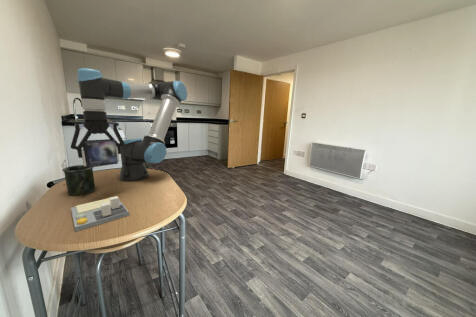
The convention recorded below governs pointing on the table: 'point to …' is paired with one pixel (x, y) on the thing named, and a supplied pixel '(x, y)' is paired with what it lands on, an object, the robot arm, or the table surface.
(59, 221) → the table surface
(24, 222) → the table surface
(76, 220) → the breaker panel
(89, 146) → the small box
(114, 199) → the toggle
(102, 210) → the toggle
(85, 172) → the mug
